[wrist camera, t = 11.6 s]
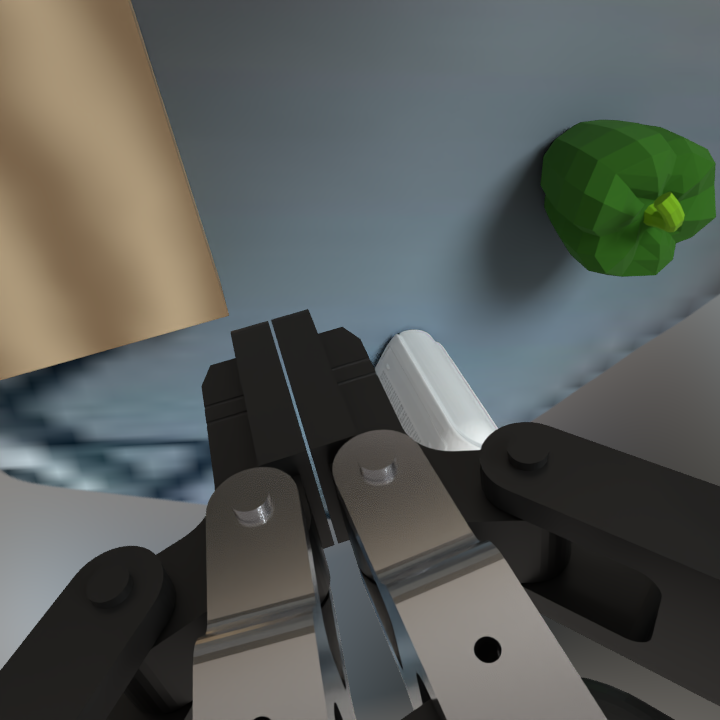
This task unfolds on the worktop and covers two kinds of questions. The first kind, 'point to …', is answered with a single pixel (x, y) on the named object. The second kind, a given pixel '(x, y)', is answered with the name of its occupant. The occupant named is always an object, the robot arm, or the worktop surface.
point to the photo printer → (432, 394)
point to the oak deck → (90, 191)
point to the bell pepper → (626, 194)
